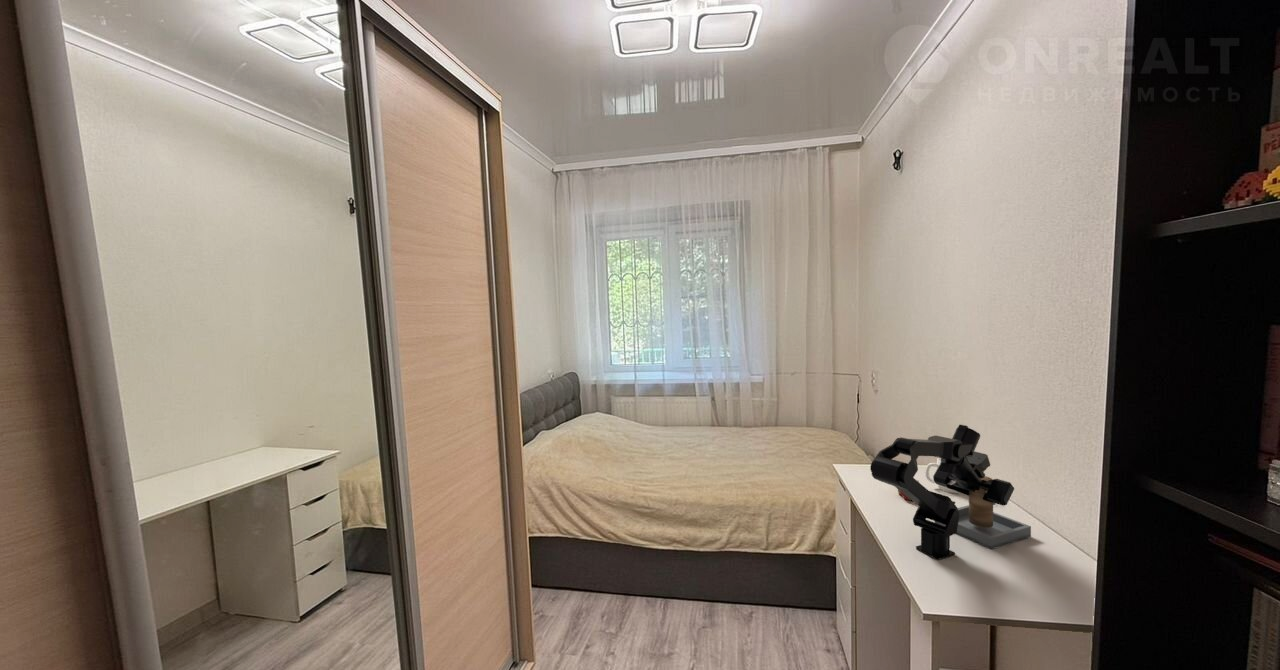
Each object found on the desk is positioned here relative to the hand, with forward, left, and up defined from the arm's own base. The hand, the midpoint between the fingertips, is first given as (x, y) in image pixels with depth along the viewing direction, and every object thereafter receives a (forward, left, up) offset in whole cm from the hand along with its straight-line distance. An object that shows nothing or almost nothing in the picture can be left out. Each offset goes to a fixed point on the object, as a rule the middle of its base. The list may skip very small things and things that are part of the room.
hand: (983, 499), depth 133 cm
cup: (+18, +25, -9) cm, 32 cm away
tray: (-1, 0, -9) cm, 9 cm away
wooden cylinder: (-1, 0, -7) cm, 7 cm away
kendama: (+4, +28, -9) cm, 30 cm away
